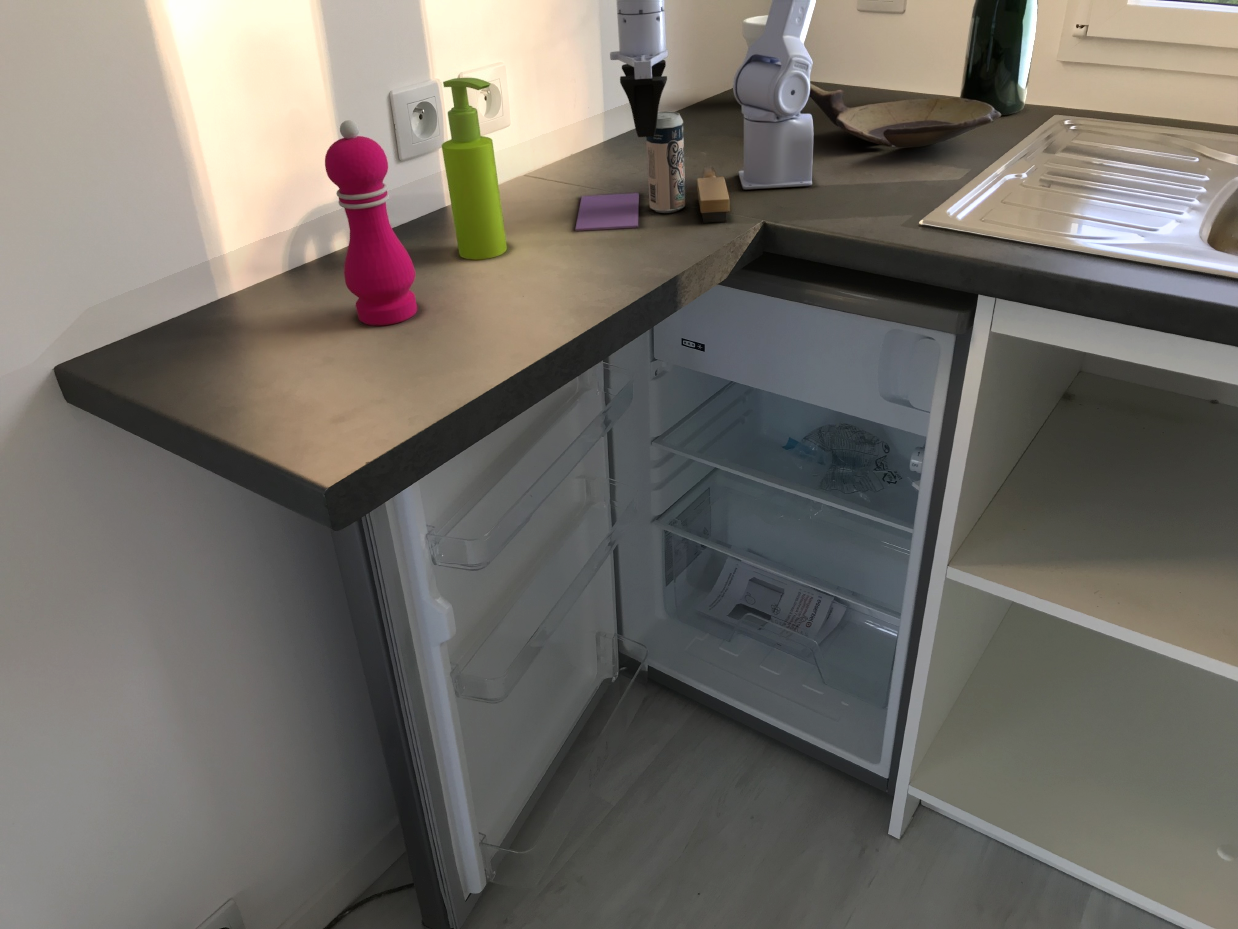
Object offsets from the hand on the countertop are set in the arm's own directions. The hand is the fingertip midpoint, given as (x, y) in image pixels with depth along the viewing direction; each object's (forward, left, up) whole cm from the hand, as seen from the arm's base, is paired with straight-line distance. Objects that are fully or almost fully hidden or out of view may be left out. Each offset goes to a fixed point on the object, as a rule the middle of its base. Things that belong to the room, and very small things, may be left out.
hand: (646, 128), depth 119 cm
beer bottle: (-58, -44, -11) cm, 73 cm away
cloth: (+6, 0, -11) cm, 12 cm away
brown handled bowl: (-39, -28, -11) cm, 49 cm away
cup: (-23, -60, -11) cm, 65 cm away
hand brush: (-8, -1, -10) cm, 13 cm away
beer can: (-2, 0, -11) cm, 11 cm away
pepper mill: (+28, +31, -11) cm, 43 cm away
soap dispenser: (+20, +13, -11) cm, 26 cm away
